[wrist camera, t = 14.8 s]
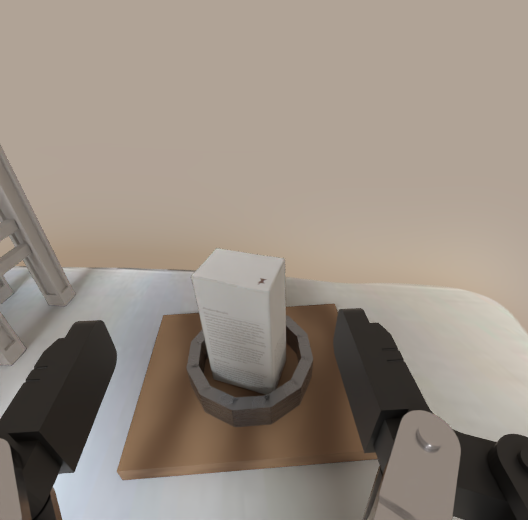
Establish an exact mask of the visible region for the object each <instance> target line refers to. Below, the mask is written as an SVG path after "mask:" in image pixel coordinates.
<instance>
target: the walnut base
mask: <svg viewBox="0 0 528 520" xmlns="http://www.w3.org/2000/svg"><path fill="white" fill-rule="evenodd" d="M286 315H288V316H289V317H290V318H291V319H292V320H293V321H294V322H295V323H297V324H298V325H299V326H300V327H301V328H302V329H303V330H304V331H305V332H306V333H307V335H308V339H309V343H310V348H311V352H312V356H313V367H312V378H311V380H310V382H309V385H308V387H307V390H306V392H305V394H304V397H303V399H302V401H301V404H300V405H299V406H297V407H296V408H295V409H293V410H292V411H290V412H289V413H287V414H286V415H284V416H283V417H282V418H280V419H279V420H277V421H276V422H274V423H273V424H271V425H259V426H246V427H233V426H231V425H229V424H227V423H225V422H223V421H221V420H219V419H217V418H215V417H214V416H212V415H210V414H208V413H206V412H204V410H203V408H202V406H201V404H200V402H199V400H198V398H197V396H196V394H195V392H194V390H193V388H192V386H191V383H190V380H189V376H188V373H187V369H186V368H187V362H188V356H189V351H190V345H191V341H192V340H193V339H194V338H195V337H196V336H197V335H198V333H199V332H200V331H201V330H202V324H201V319H200V315H199V313H191V314H176V315H163V318H162V321H161V325H160V328H159V332H158V335H157V338H156V342H155V345H154V348H153V352H152V355H151V358H150V362H149V365H148V368H147V372H146V375H145V379H144V382H143V385H142V389H141V392H140V395H139V399H138V402H137V405H136V409H135V412H134V415H133V419H132V422H131V425H130V429H129V432H128V436H127V439H126V442H125V446H124V449H123V452H122V456H121V459H120V462H119V466H118V469H117V472H118V474H119V475H120V477H121V478H122V480H131V479H143V478H155V477H167V476H179V475H191V474H203V473H215V472H227V471H239V470H251V469H263V468H275V467H287V466H299V465H311V464H323V463H335V462H347V461H359V460H371V459H378V458H377V455H376V453H364V450H363V447H362V444H361V441H360V437H359V434H358V431H357V427H356V424H355V421H354V417H353V414H352V411H351V408H350V404H349V401H348V398H347V394H346V391H345V388H344V384H343V381H342V378H341V374H340V371H339V368H338V365H337V361H336V358H335V354H334V348H333V338H334V332H335V327H336V321H337V316H338V312H337V309H336V306H335V304H323V305H309V306H294V307H286ZM297 366H298V359H297V354H296V353H295V352H294V351H293V350H292V349H291V348H290V346H289V345H288V344H287V343H286V362H285V365H284V367H283V370H282V373H281V376H280V379H279V382H278V385H277V388H279V387H280V386H282V385H283V384H285V383H286V382H288V381H290V380H291V378H292V376H293V374H294V372H295V370H296V368H297ZM204 376H205V378H206V379H207V381H208V383H209V384H210V386H212V387H214V388H216V389H218V390H220V391H223V392H225V393H227V394H229V395H231V396H233V397H235V398H237V397H250V396H263V395H265V394H262V393H258V392H255V391H252V390H248V389H245V388H242V387H238V386H235V385H232V384H228V383H225V382H221V381H218V380H214V379H213V375H212V371H211V366H210V361H209V357H208V358H207V359H206V360H205V367H204ZM277 388H276V389H277Z"/></svg>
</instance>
